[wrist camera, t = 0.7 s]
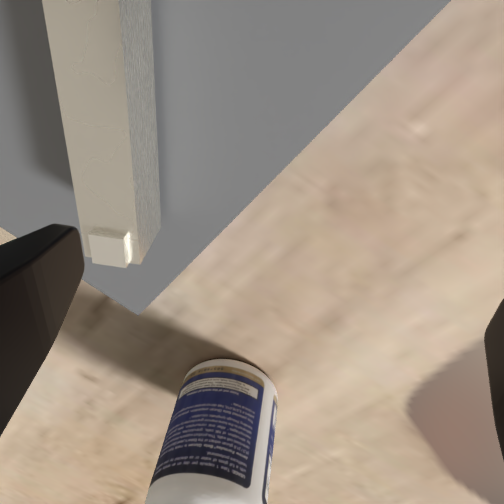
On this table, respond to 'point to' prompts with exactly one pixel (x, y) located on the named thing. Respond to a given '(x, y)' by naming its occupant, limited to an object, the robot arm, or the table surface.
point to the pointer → (108, 122)
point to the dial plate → (196, 113)
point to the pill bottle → (218, 438)
